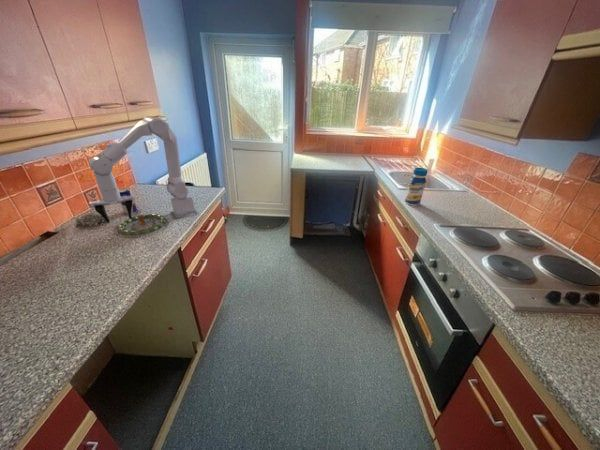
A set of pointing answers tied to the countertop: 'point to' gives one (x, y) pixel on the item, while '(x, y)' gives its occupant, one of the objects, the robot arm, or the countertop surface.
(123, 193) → the energy drink
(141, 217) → the ring stand
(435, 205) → the countertop surface
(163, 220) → the ring
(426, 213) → the countertop surface
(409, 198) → the beverage bottle
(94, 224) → the egg carton
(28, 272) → the countertop surface
